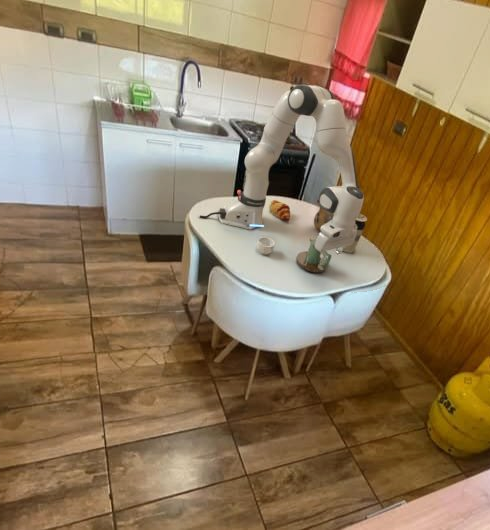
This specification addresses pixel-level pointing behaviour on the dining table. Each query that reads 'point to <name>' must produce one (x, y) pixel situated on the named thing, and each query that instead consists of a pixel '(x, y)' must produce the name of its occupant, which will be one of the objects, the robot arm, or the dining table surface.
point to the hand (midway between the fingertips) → (330, 255)
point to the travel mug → (360, 224)
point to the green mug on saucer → (313, 259)
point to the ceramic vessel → (322, 217)
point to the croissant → (280, 210)
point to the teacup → (265, 245)
